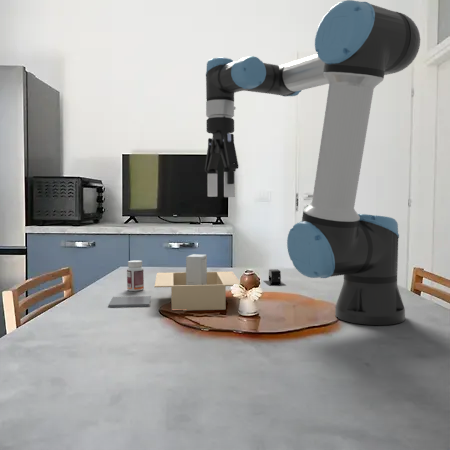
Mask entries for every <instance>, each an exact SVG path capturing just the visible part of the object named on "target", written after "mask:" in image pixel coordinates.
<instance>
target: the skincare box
mask: <svg viewBox="0 0 450 450" xmlns="http://www.w3.org/2000/svg"><path fill="white" fill-rule="evenodd" d="M207 268H208V254H197V253H192V254H189V255H187V256H185V272H186V285H207V272H208V269H207Z"/></svg>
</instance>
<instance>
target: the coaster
mask: <svg viewBox="0 0 450 450" xmlns="http://www.w3.org/2000/svg"><path fill="white" fill-rule="evenodd" d="M151 301H152V296H151V295H141V296H140V295H137V296H112V298H111V300H110V301H109V303H108V306H107V307H108V308H129V307H131V308H134V307H136V308H137V307H141V308H142V307H150V305H151Z"/></svg>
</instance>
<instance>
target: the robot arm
mask: <svg viewBox="0 0 450 450" xmlns="http://www.w3.org/2000/svg"><path fill="white" fill-rule="evenodd" d="M420 47H421V35H420V30H419V27H418V25H417V24H416V23H415V21H414V20H413V19H412V18H411V17H409V15H407V14H404V13H401V12H399V11H394V10H392V9H387V8H384V7H382V6H378V5H376V4H375V5H374V4H373V3H369V2H368V1H358V0H343V1H340V2H338V3H335V5H333V6H332V7H330V9H329V10H328V12H326V13H325V14H324V16H323V17H322V18H321V20H320V22H319V25H318V26H317V29H316V33H315V36H314V49H315V52H316V53H315V54H312V55H310V56H306V57H303V58H300V59H297V60H293V61H290V62H288V63H284V64H281V65H280V64H279V65H278V64H273V63H272V64H271V63H268V62H263V60H261V59H260V58H259V57H258V56H254V55H253V56H251V55H250V56H244V57H242V58H239V59H237V60H233V59H231V58H228V57H214V58H211V59H208V61H207V62H206V71H205V87H206V88H205V90H206V91H205V93H206V94H205V95H206V96H205V97H206V98H205V99H206V101H205V109H206V111H205V116H206V117H207V119H206V133H208V134H212V137H211V138H210V137H209V138H208V140H207V152H206V157H205V165H204V172H206V174H207V197H210V198H212V197H215V198H216V197H218V174H219V172H218V167H219V162H220V160H221V159H222V160H221V161H222V164H223V169H222V172H223V197H224V198H234V197H235V194H236V193H235V190H236V187H235V186H236V185H235V183H236V177H235V176H236V173H235V172H236V170H237V169H239V162H238V158H237V157H238V156H237V152H236V151H237V150H236V147H235V146H236V145H235V137H234V132H235V119H234V118H233V117H235V110H236V109H237V108H236V106H235V94H236V93H238V92H242V91H243V92H252V93H260V94H269V95H276V96H280V97H281V96H282V97H296V96H298V95H299V94H300V93H301V92H302V91H304V90H309V89H312V88H316V87H321V86H324V85H328V91H327V98H326V103H325V111H324V116H323V117H324V119H323V124H322V125H323V126H322V132H321V137H320V138H321V139H320V146H319V150H318V151H319V153H318V159H317V165H316V172H315V173H316V174H315V180H314V186H313V194H312V199H311V203H310V204H308V205H307V206H306V207H304V208H303V211H302V212H303V213H302V217H301V221H299V222H297V223H295V224H294V225H292V227H291V228H290V229H289V231H288V234H287V239H286V241H287V242H286V243H287V244H286V246H287V254H288V257H289V259H290V261H291V262H292V265H293V266H294V268H295V270H297V272H299V273H300V274H301V275H302V276H304V277H307V278H311V279H317V278H319V279H327V278H330V277H337V276H343V284H342V287H341V288H340V289H341V290H340V292H339V295H338V298H337V301H336V304H335V309H334V310H335V312H334V313H335V315H336V316H335V317H336V318H337V317H338V318H337V319H339V320H341V321H343V322H348V323H353V324H359V325H365V326H366V325H367V326H368V325H369V326H389V325H397V324H401V323H403V322H405V320H406V309H405V306H404V302H403V298H402V296H401V292H400V289H399V286H398V266H399V265H398V264H399V263H398V261H399V259H398V258H399V239H400V234H399V224H398V222H397V220H396V219H395V218H393V217H390V216H386V215H385V216H383V215H377V214H374V215H373V214H366V213H358V212H357V211H356V210H355V205H356V204H355V203H356V198H357V193H358V192H357V191H358V187H359V180H360V174H361V168H362V161H363V155H364V151H365V150H364V149H365V144H366V137H367V131H368V125H369V119H370V113H371V108H372V101H373V95H374V90H375V88H376V87H377V86H378V85H380V83H382V82H383V81H384V78H385V76H387V75H391V74H396V73H399V72H401V71H404V70H405V69H406V68H408V67H409V66H410V65H411V64H412V63H413V62H414V60H415V59H416V57H417V55H418V54H419V51H420ZM220 158H221V159H220Z"/></svg>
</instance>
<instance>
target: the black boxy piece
mask: <svg viewBox="0 0 450 450" xmlns="http://www.w3.org/2000/svg"><path fill="white" fill-rule="evenodd" d="M281 273H282V272H281V270H280V269H268V280H263V282H264V283H265V284H266V285H267V286H269V287H282V286H283V287H284V286H285V287H286V284H285V283H284V282H283V281H282V280H281V279H282V277H281V276H282V274H281Z"/></svg>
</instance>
